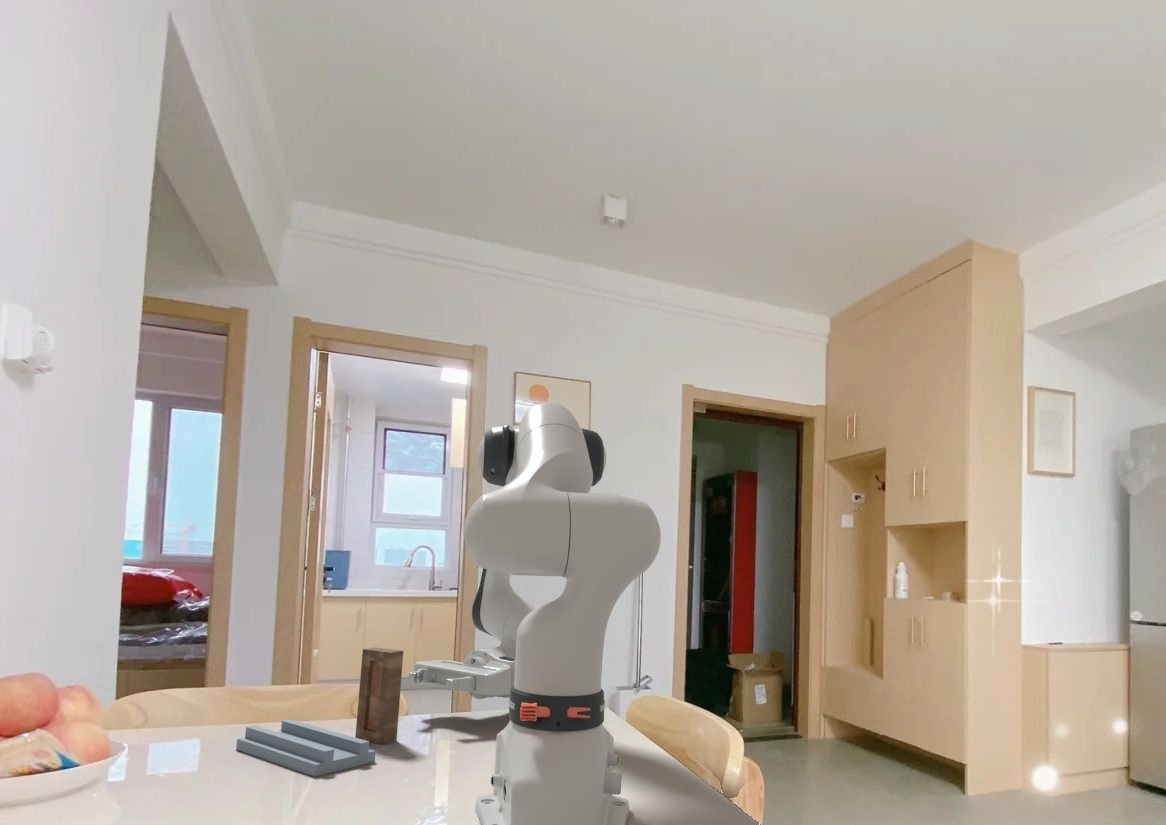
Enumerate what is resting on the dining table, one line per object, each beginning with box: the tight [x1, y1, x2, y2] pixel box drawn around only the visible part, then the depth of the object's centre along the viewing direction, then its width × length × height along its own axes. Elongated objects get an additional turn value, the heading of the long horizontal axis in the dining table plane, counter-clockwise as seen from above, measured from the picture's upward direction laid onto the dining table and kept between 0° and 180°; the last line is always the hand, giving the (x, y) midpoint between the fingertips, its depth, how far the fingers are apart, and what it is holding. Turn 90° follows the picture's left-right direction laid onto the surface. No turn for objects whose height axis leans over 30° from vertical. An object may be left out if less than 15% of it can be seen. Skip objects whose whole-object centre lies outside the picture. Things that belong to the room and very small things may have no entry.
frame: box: [354, 647, 404, 745], centre depth 123 cm, size 6×3×14 cm, turn 63°
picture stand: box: [235, 719, 376, 778], centre depth 111 cm, size 20×10×3 cm, turn 53°
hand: (429, 681), depth 131 cm, fingers open, 8 cm apart
